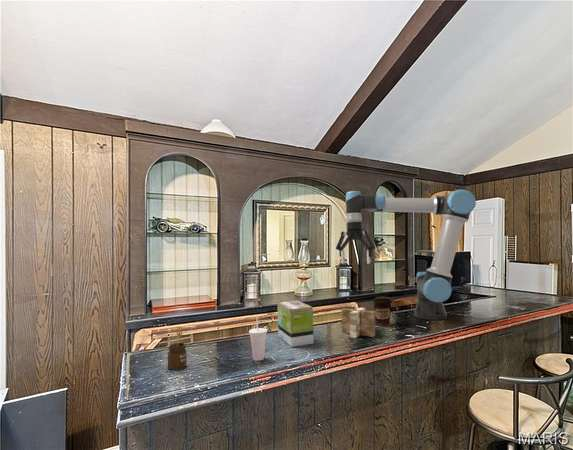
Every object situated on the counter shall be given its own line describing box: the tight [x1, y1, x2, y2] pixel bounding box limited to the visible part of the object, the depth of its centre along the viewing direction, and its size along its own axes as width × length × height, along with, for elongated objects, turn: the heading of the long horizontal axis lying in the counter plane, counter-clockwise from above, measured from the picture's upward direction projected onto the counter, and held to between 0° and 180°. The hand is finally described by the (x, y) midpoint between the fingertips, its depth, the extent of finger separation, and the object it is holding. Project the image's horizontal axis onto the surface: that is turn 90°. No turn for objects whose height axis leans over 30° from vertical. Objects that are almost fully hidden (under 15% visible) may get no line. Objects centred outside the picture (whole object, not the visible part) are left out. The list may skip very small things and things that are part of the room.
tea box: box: [277, 300, 315, 348], centre depth 131 cm, size 15×10×15 cm, turn 22°
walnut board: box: [341, 308, 376, 338], centre depth 138 cm, size 14×2×10 cm, turn 56°
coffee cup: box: [373, 296, 392, 327], centre depth 151 cm, size 9×8×13 cm
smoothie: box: [248, 316, 268, 362], centre depth 111 cm, size 6×6×14 cm
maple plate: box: [349, 306, 367, 339], centre depth 138 cm, size 13×2×10 cm, turn 147°
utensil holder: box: [167, 326, 188, 371], centre depth 105 cm, size 6×6×12 cm
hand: (355, 263), depth 162 cm, fingers open, 13 cm apart
